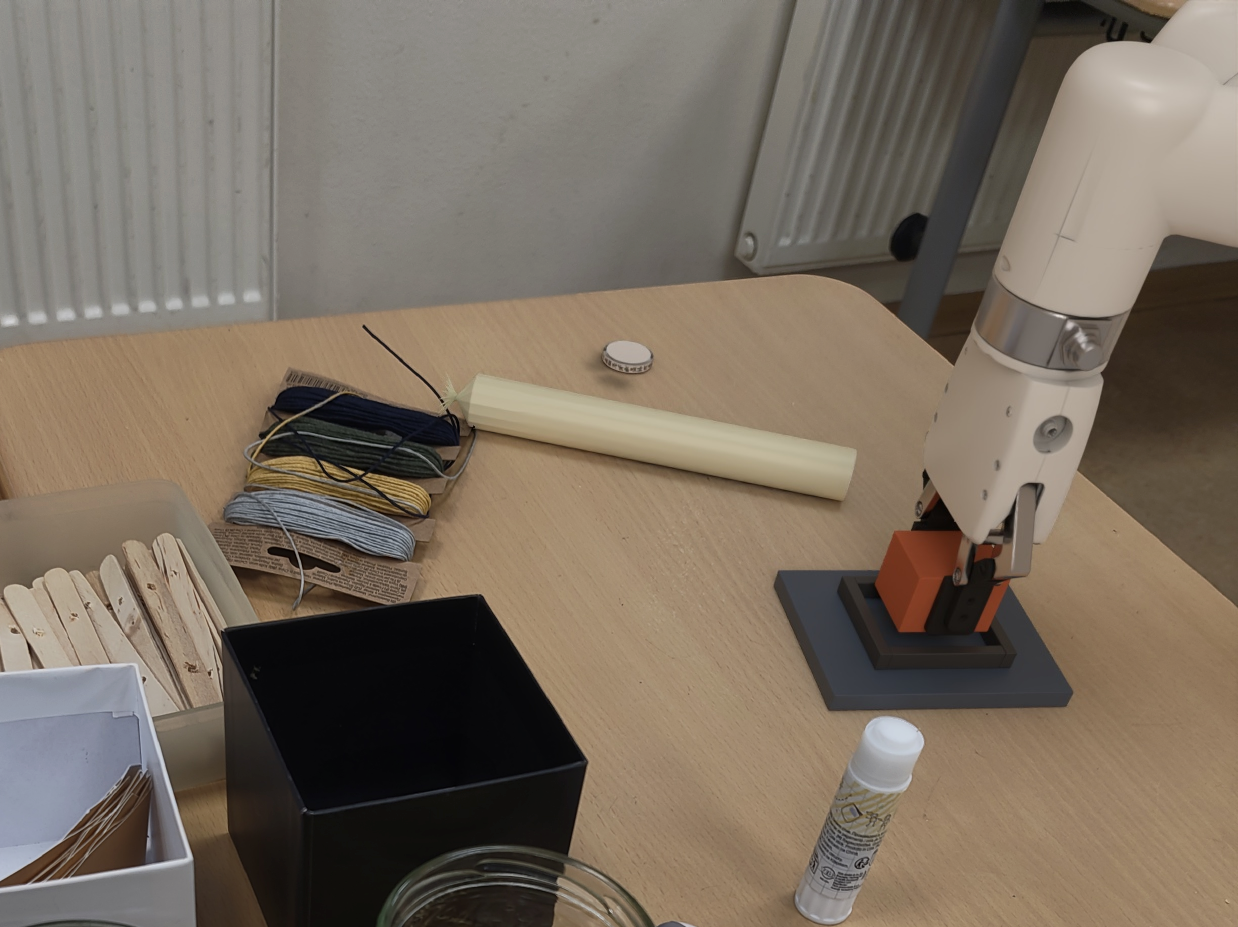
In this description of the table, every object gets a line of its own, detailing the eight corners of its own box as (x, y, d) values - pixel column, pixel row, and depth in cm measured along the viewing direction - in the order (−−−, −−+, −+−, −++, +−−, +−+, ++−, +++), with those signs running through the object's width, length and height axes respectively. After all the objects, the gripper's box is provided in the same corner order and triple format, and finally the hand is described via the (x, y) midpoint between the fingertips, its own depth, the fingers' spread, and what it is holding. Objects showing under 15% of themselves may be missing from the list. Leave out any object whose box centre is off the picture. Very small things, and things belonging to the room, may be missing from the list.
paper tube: (444, 406, 108) (449, 357, 105) (842, 485, 106) (858, 438, 103) (434, 430, 105) (438, 381, 103) (840, 512, 104) (856, 464, 101)
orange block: (960, 584, 94) (983, 530, 91) (987, 632, 91) (1012, 577, 88) (874, 585, 94) (894, 530, 90) (898, 633, 91) (920, 578, 87)
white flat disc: (598, 366, 113) (599, 358, 113) (606, 343, 116) (608, 335, 115) (647, 377, 113) (649, 369, 113) (655, 353, 115) (657, 345, 115)
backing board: (993, 584, 100) (1007, 554, 98) (1066, 707, 92) (1082, 676, 90) (773, 585, 97) (782, 554, 96) (828, 711, 90) (840, 679, 88)
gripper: (1180, 403, 74) (1036, 690, 88) (1053, 249, 84) (942, 528, 98) (1044, 401, 72) (920, 691, 87) (932, 245, 83) (837, 528, 97)
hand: (933, 602), depth 92 cm, fingers closed on orange block, 4 cm apart
